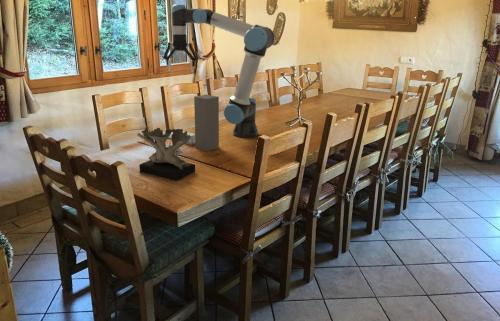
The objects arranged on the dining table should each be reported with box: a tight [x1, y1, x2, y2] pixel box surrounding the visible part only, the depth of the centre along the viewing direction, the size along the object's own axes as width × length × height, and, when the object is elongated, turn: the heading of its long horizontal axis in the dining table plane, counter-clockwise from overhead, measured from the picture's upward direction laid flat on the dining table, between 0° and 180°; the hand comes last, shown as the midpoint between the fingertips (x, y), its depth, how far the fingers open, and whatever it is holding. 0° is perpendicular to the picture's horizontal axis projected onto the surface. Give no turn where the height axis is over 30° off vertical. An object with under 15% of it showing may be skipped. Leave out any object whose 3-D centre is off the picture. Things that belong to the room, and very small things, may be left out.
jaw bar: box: [167, 131, 195, 146], centre depth 236 cm, size 22×5×5 cm, turn 53°
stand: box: [193, 94, 220, 152], centre depth 220 cm, size 9×9×28 cm
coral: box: [136, 127, 196, 182], centre depth 182 cm, size 25×20×21 cm
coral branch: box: [166, 142, 184, 157], centre depth 205 cm, size 9×8×10 cm
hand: (181, 71), depth 239 cm, fingers open, 13 cm apart
